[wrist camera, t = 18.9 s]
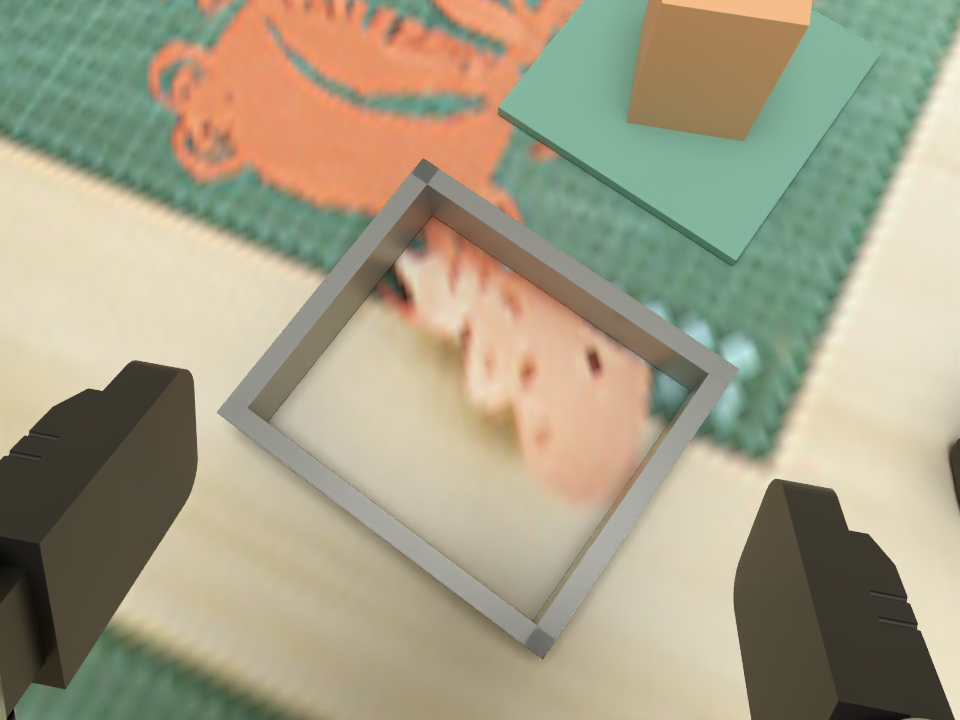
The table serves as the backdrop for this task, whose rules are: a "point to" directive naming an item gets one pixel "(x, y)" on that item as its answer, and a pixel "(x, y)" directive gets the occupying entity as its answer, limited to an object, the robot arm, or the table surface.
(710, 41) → the block
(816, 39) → the mat
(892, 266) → the table surface
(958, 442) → the card reader
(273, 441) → the grey rectangular frame
